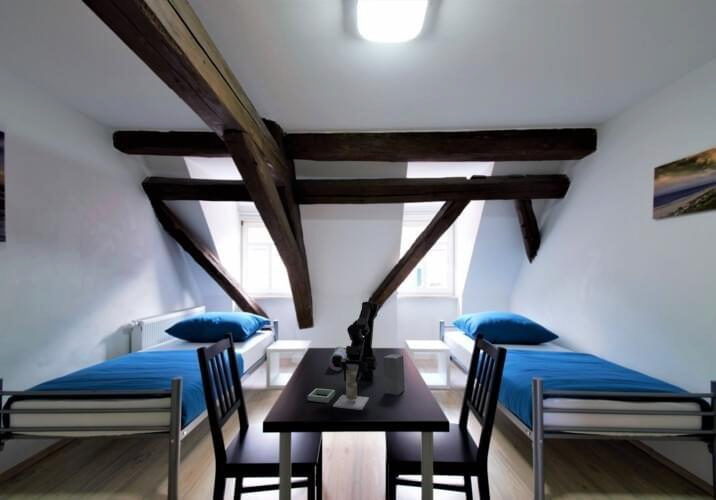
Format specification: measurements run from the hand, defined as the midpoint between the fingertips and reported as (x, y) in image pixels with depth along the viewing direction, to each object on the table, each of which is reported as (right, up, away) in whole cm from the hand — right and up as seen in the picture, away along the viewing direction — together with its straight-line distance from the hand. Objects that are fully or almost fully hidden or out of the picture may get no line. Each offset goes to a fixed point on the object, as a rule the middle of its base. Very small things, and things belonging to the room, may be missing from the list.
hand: (350, 381), depth 138 cm
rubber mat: (0, -9, +1) cm, 9 cm away
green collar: (-13, -9, +6) cm, 17 cm away
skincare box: (+19, -10, +13) cm, 25 cm away
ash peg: (0, -7, +1) cm, 7 cm away
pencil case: (-8, -13, +53) cm, 55 cm away
